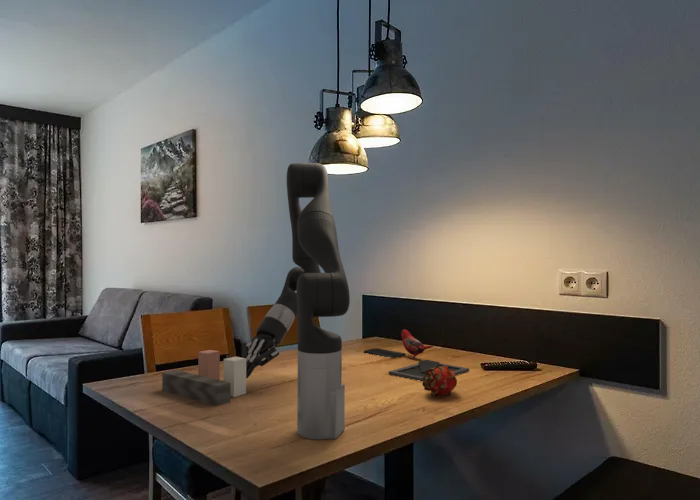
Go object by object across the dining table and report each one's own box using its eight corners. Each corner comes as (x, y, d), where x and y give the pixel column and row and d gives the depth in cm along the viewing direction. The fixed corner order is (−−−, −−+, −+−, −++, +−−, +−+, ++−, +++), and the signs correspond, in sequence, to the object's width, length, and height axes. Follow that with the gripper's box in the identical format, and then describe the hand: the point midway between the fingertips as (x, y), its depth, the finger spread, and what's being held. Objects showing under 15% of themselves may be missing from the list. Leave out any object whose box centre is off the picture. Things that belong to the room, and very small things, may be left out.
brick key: (219, 384, 140) (219, 351, 140) (207, 387, 137) (207, 353, 137) (210, 381, 143) (210, 349, 143) (198, 384, 139) (198, 351, 140)
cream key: (246, 393, 131) (246, 358, 131) (234, 397, 128) (234, 361, 128) (235, 391, 133) (235, 356, 133) (223, 394, 130) (223, 359, 130)
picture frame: (426, 365, 173) (388, 376, 158) (426, 359, 173) (388, 370, 158) (469, 373, 162) (432, 385, 147) (469, 367, 162) (432, 379, 147)
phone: (376, 348, 198) (406, 353, 187) (376, 351, 198) (406, 356, 187) (362, 350, 192) (393, 356, 181) (362, 353, 192) (393, 359, 181)
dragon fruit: (425, 406, 130) (446, 402, 140) (451, 390, 127) (471, 387, 136) (410, 376, 134) (431, 374, 143) (435, 360, 130) (455, 359, 140)
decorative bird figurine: (403, 355, 187) (403, 328, 187) (436, 364, 172) (436, 334, 172) (397, 356, 186) (397, 328, 186) (430, 365, 171) (430, 335, 171)
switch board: (265, 397, 132) (266, 373, 132) (216, 412, 120) (216, 386, 120) (209, 383, 146) (209, 362, 146) (159, 395, 133) (159, 372, 133)
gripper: (252, 313, 144) (218, 364, 134) (287, 317, 136) (252, 371, 126) (266, 330, 149) (233, 380, 139) (300, 334, 141) (268, 388, 131)
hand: (242, 376), depth 133 cm, fingers closed
